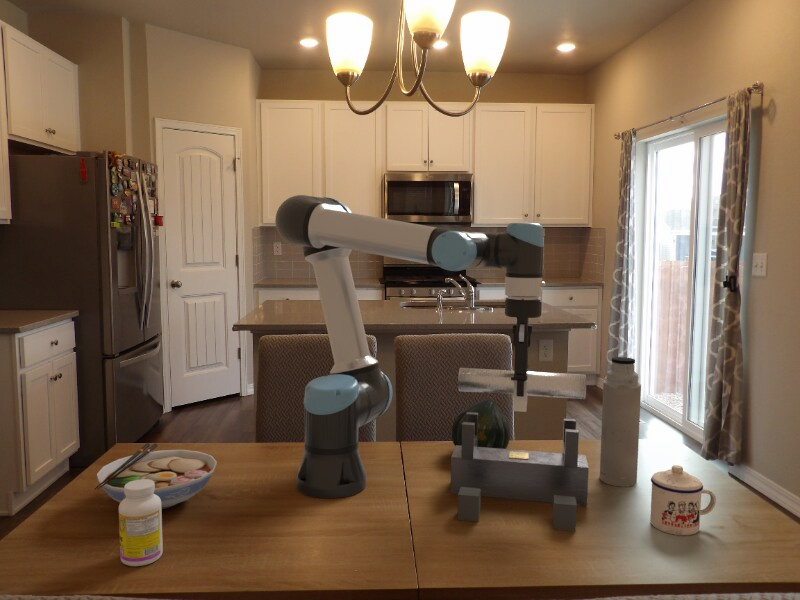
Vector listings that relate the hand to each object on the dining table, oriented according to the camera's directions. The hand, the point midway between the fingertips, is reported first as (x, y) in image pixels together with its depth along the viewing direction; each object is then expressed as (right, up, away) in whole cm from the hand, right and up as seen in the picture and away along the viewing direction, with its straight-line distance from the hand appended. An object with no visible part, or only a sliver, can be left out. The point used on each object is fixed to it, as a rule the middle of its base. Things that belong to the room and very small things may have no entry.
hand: (520, 407), depth 135 cm
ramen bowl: (-74, -19, -5) cm, 77 cm away
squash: (-5, -17, +26) cm, 32 cm away
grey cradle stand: (0, -19, +2) cm, 19 cm away
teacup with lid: (+28, -21, -13) cm, 37 cm away
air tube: (0, +3, 0) cm, 3 cm away
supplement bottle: (-69, -21, -28) cm, 77 cm away
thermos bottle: (+24, -18, +10) cm, 32 cm away
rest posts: (-3, -20, -12) cm, 23 cm away
